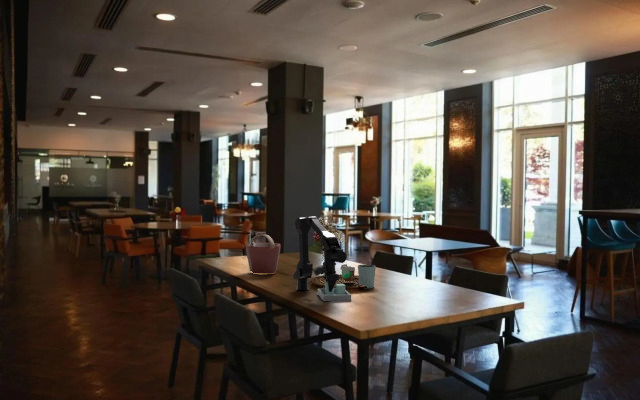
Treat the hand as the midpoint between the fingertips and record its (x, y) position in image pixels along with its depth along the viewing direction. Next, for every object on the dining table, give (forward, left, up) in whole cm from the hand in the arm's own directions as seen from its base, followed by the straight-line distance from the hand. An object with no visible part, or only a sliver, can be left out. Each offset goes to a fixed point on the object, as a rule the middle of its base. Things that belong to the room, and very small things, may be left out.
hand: (329, 290), depth 260 cm
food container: (-37, +17, -4) cm, 41 cm away
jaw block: (0, 0, -2) cm, 2 cm away
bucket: (-78, -28, -4) cm, 83 cm away
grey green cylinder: (-24, +26, -4) cm, 36 cm away
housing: (0, +2, -4) cm, 4 cm away
